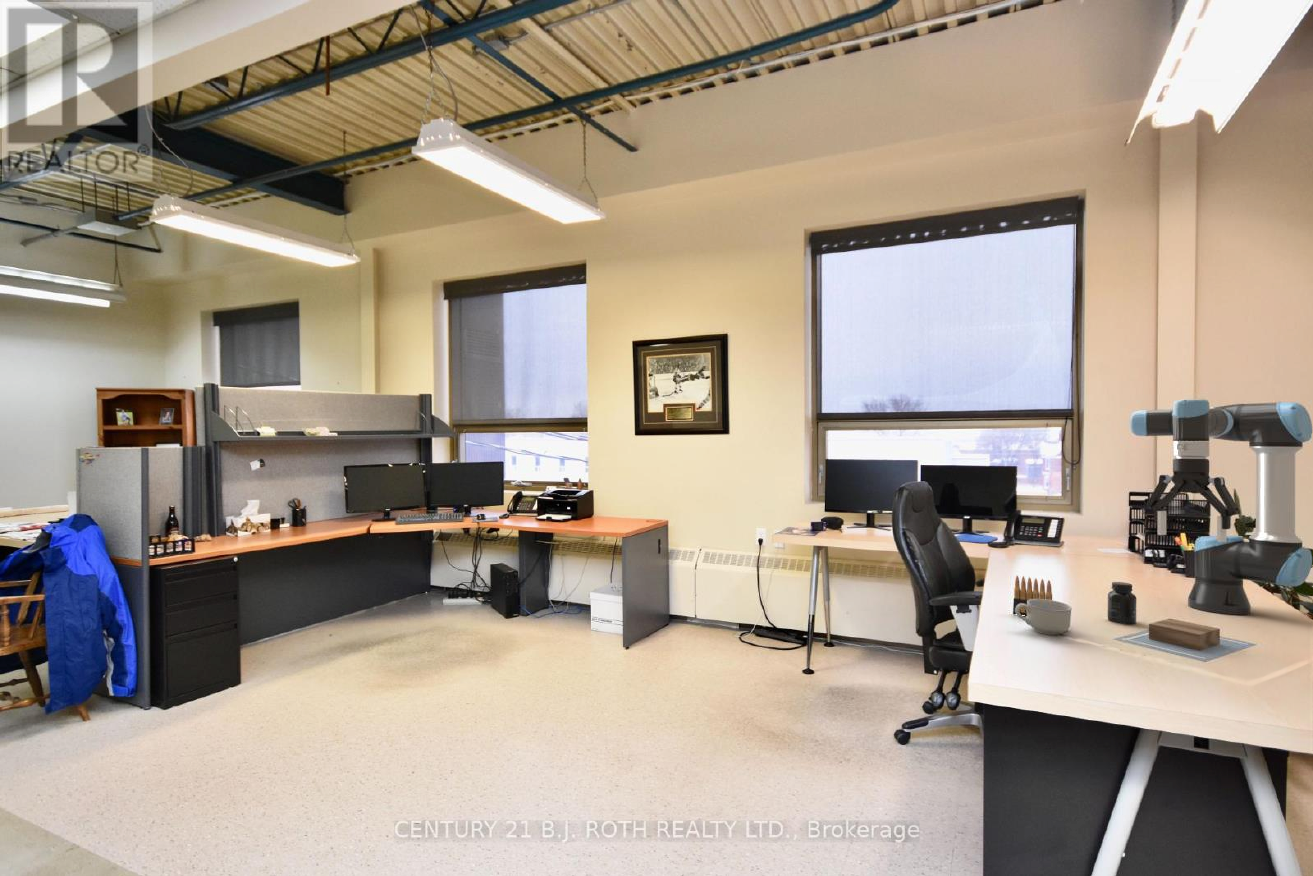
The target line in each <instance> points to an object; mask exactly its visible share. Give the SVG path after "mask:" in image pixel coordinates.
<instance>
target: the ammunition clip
mask: <svg viewBox="0 0 1313 876" xmlns="http://www.w3.org/2000/svg"><path fill="white" fill-rule="evenodd" d="M1026 585H1027V586H1026ZM1013 589H1014V592H1013V596H1014V597H1013V602H1012V603H1013V605H1012V606H1013V608H1012V615H1013V614H1016V612H1015V608H1016V606H1017V605H1018V604H1022V603H1023V604H1026V605H1027V601H1028V600H1030V599H1046V600H1053V592H1052V583H1051V581H1050V579H1048V580H1047V583H1046V588H1045V581H1044V579H1041V580H1040V584H1039V582H1038V579H1037V578H1036V577H1035V579H1034V580H1033V582H1032V578H1031V577H1030V576H1029V577H1028V579H1027V583H1026V578H1025V576H1022V578H1021V583H1020V577H1019V576H1018V575H1016V576H1015V580H1014V588H1013ZM1045 589H1046V590H1045ZM1020 614H1021V615H1025V616H1027V611H1026V608H1024V607H1022V608H1021V609H1020Z"/></svg>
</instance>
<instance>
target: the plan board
mask: <svg viewBox="0 0 1313 876" xmlns="http://www.w3.org/2000/svg"><path fill="white" fill-rule="evenodd" d="M1112 640H1115V641H1119V642H1122V643H1127V644H1131V645H1133V646H1139V647H1143V648H1146V649H1151V650H1154V651H1155V650H1156V651H1160V652H1163V653H1167V654H1171V655H1175V656H1179V657H1183V658H1188V659H1192V660H1196V661H1200V662H1203V663H1206V662H1209V661H1212V660H1215V659H1219V658H1220V657H1223V656H1227V655H1230V654H1233V653H1236V652H1238V651H1242V650H1244V649H1247V648H1250V647H1253V646H1256V645H1257V643H1253V642H1248V641H1245V640H1244V641H1243V640H1239V639H1234V638H1229V637H1224V636H1220V644H1219V645H1216V646H1213V647H1210V648H1207V649H1204V650H1200V651H1198V650H1193V649H1189V648H1185V647H1181V646H1176V645H1172V644H1168V643H1164V642H1159V641H1155V640H1151V639H1149V629H1146V630H1142V631H1139V632H1138V631H1137V632H1134V633H1131V634H1127V635H1123V636H1118V637H1117V638H1112Z"/></svg>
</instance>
